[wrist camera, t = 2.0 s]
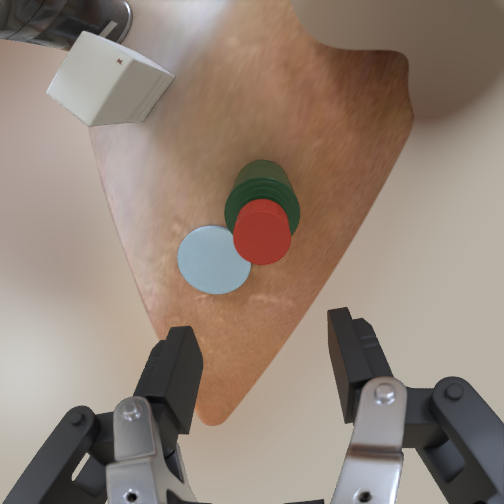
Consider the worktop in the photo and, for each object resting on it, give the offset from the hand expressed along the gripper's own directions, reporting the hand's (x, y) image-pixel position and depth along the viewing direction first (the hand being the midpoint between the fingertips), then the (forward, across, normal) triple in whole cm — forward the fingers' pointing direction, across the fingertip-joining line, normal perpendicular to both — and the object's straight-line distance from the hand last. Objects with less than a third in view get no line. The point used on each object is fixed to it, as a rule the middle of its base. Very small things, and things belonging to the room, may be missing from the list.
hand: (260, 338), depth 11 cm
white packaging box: (+28, +13, -16) cm, 34 cm away
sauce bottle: (+27, 0, 0) cm, 27 cm away
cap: (+13, 0, 0) cm, 13 cm away
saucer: (+27, +8, +9) cm, 30 cm away
